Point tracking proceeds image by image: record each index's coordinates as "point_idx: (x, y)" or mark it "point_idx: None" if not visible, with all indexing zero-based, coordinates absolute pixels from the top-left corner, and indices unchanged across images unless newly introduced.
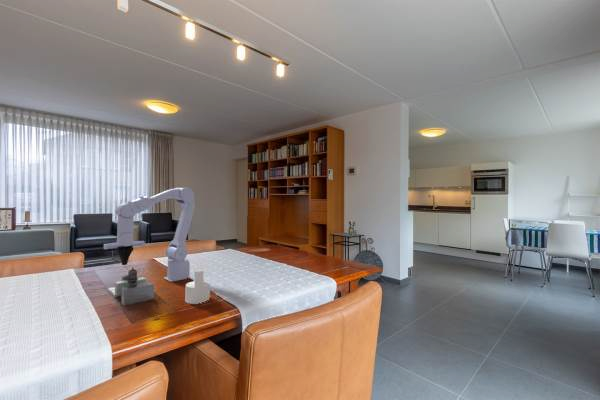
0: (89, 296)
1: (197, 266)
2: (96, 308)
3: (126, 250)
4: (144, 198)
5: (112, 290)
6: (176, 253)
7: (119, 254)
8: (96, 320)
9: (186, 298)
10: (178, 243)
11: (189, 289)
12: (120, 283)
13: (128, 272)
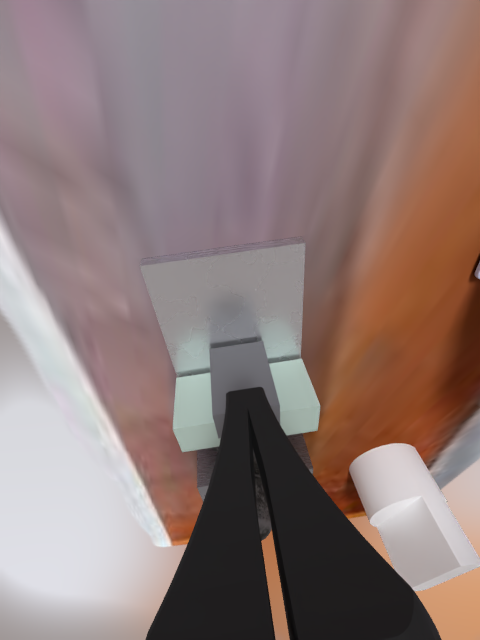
0: (55, 309)
1: (466, 567)
2: (122, 434)
3: (290, 636)
4: None
5: (166, 318)
6: None
7: (203, 525)
8: (135, 487)
9: (354, 478)
10: None
11: (367, 516)
12: (197, 448)
13: None
